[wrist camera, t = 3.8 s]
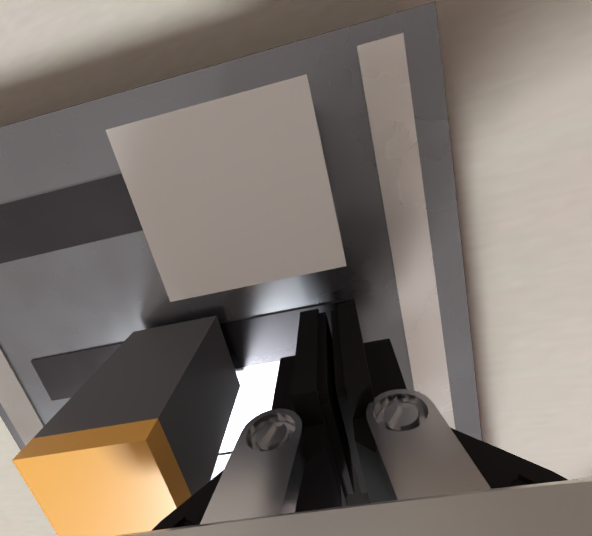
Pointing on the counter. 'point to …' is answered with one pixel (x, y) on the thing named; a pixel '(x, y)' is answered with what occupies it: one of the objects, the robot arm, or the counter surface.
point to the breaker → (233, 190)
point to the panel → (261, 297)
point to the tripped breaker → (135, 433)
